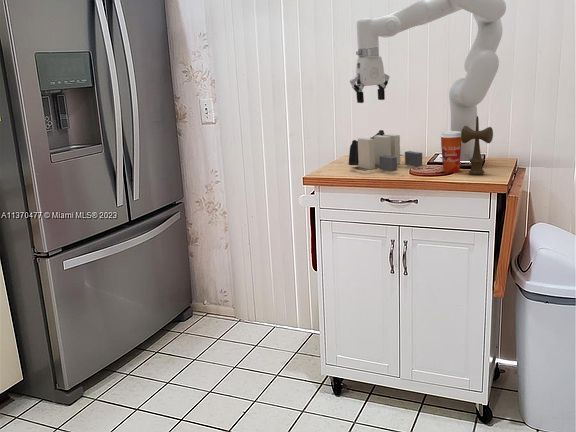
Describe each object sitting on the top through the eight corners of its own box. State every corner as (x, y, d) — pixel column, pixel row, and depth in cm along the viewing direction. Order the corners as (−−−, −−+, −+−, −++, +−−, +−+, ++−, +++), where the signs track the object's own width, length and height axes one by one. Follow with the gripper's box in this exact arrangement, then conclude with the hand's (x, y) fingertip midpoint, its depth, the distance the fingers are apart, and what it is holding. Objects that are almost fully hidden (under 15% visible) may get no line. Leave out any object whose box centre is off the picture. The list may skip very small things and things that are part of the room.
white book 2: (391, 165, 226) (390, 136, 223) (386, 166, 225) (385, 137, 222) (379, 163, 232) (378, 135, 229) (374, 164, 231) (373, 135, 228)
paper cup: (438, 173, 212) (438, 134, 208) (441, 169, 219) (441, 131, 215) (461, 173, 209) (461, 133, 205) (463, 169, 216) (464, 130, 212)
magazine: (351, 146, 228) (384, 114, 248) (344, 145, 230) (377, 114, 250) (359, 185, 236) (390, 151, 256) (352, 184, 238) (383, 151, 258)
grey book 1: (397, 173, 217) (396, 157, 215) (392, 174, 216) (391, 158, 214) (385, 171, 223) (384, 155, 221) (379, 172, 221) (379, 156, 220)
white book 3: (400, 163, 228) (399, 135, 225) (395, 164, 227) (394, 135, 224) (388, 161, 234) (388, 133, 231) (383, 162, 233) (383, 134, 230)
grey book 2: (422, 168, 222) (422, 152, 221) (417, 169, 221) (417, 153, 220) (409, 166, 228) (409, 150, 227) (405, 167, 227) (404, 151, 225)
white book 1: (374, 168, 223) (374, 139, 220) (369, 169, 221) (368, 139, 219) (363, 166, 229) (362, 137, 226) (358, 167, 227) (357, 138, 225)
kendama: (466, 171, 212) (466, 114, 206) (493, 173, 206) (494, 115, 201) (459, 174, 207) (460, 116, 202) (487, 176, 201) (488, 117, 196)
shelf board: (401, 167, 228) (401, 164, 228) (364, 174, 220) (364, 170, 220) (386, 164, 236) (386, 161, 235) (350, 170, 228) (350, 167, 227)
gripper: (355, 54, 209) (358, 104, 213) (393, 51, 217) (395, 98, 221) (343, 55, 215) (346, 103, 220) (380, 52, 223) (383, 98, 228)
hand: (371, 101), depth 221 cm, fingers open, 9 cm apart
